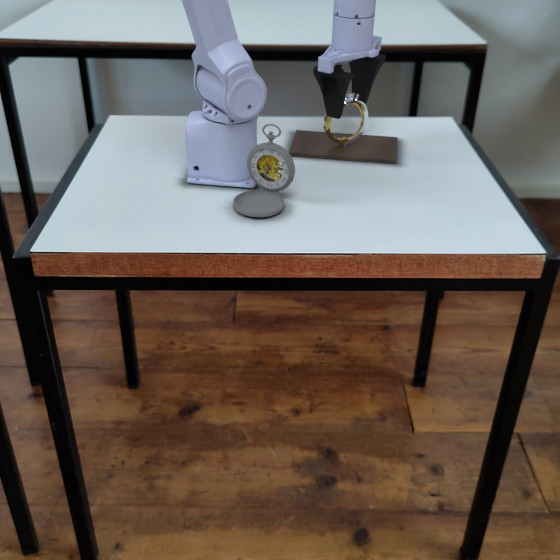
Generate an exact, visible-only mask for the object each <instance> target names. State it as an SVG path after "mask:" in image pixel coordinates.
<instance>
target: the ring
mask: <svg viewBox="0 0 560 560" xmlns="http://www.w3.org/2000/svg"><path fill="white" fill-rule="evenodd" d="M354 94H355V93H354V92H353V93H352V92H351V91H347V93H346V96H345V102H344V108H346V107H347V105H350V104H352V105H354V106H355V107H357V109H358V110H359V112H360V117H361V120H360V125H359V127H358V128H357V130H356V132H354V133H353V134H354V135H352V136H350V137H348V138H346V137H342V138H341V139H340V138H336V137H334V136H333V135H332V134H331V133H332V132H331V123H332V120H333V118H331V117H328V116H327V115H326V111H325V112H324V114H323V115H324V116H323V123H322V124H323V130H324V132H326V134H327V136H328V137H329V138H330V139H331V140H332V141H333V142H335V143H338V144H343V145H348V143H351V142H354V141H355V140H357V139H358V138H359V137H360V136H361V135H364V132H365V131H366V129H367V127H368V123H369V111H368V107H367V105H366V104H364V103H363V102H362V101H361V100H358V97H359V94H357V95H356V97H354Z"/></svg>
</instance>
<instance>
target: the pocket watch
mask: <svg viewBox="0 0 560 560" xmlns="http://www.w3.org/2000/svg"><path fill="white" fill-rule="evenodd" d="M269 126H271V127H274V128H276V129H277V130H278V133H277V134H276V135H275V134H274V132H273V131H272V130H269V132H268V133H266V132H265V131H266V130H265V129H266V127H269ZM261 132H262V133H263V135H265V137H266V139H267V140H268V142H267V141H266V142H261V143H259V144H257V146H255V147H254V148H253V149H252V150H251V151H250V153H249V155H248V158H247V169H248V172H249V175H250V177H251V178H252V180H253V181H254V182H255V183H256V186H258V187H259V188H260V189H249V190H245V191H243V192H240V193H238V194H237V195H235V196H234V198H233V200H232V205H233V208H234V209H235V210H236V212H238V213H239V214H241V215H243V216H246V217H252V218H266V217H273V216H275V215H277V214H279V213H281V212H282V211H283V210H284V208H285V205H286V201H285V198H284V197H283V196H282V195H281V194H279V192H282V191H284V190H286V189H287V188H289V186H290V185H291V184H292V183H293V182H294V178H295V175H296V165H295V161H294V159H293V156H291V155H290V154H289V150H287V149H286V148H284V146H282V145H280V144H278V143H276V142H274V140H275V139H276V138H279V137H280V136H281V135H282V130H281V128H280V127H279V126H278V125H277V124H273V123H267V124H265V125H263V126H262V128H261ZM262 167H263V168H262ZM281 172H282V173H281Z"/></svg>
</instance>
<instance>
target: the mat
mask: <svg viewBox="0 0 560 560" xmlns="http://www.w3.org/2000/svg"><path fill="white" fill-rule="evenodd" d="M331 134H332V135H333V136H334V137H336V138H340V139H341V138H342V137H346V138H348V137H350V136H352V135H354V134H355V133H346V132H345V133H343V132H331ZM288 153H289V154H290V155H291V157H297V158H298V157H300V158H311V159H312V158H314V159H325V160H341V161H353V162H364V163H365V162H366V163H379V164H393V165H397V164H398V163H397V162H398V137H397V136H385V135H370V134H362V135H361V136H360V137H359V138H358V139H357V140H355V141H354V142H351V143H348V145H343V144H338V143H335V142H333V141H332V140H331V139H330V138H329V137H328V136H327V134H326V132H325V131H318V130H317V131H315V130H301V129H296V130H295V133H294V136H293V138H292V142H291V144H290V148H289V150H288Z"/></svg>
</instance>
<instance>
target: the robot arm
mask: <svg viewBox="0 0 560 560" xmlns="http://www.w3.org/2000/svg"><path fill="white" fill-rule="evenodd" d="M181 2H182V5H183V8H184V12H185V15H186V19H187V22H188V25H189V27H190V28H189V29H190V31H191V35H192V37H193V40H194V44H195V48H194V51H193V52H192V54H191V60H192V63H193V68H194V72H193V79H192V80H193V81H192V82H193V88H194V91H195V93H196V94H197V95H198V96H199V98H201V99H202V110H192V111H190V112H189V113H188V116H187V119H186V125H185V151H186V165H187V166H186V167H187V178H186V182H187V183H189V184H195V185H196V184H198V185H210V186H222V187H235V188H246V189H254V188H255V187H256V186H257V184H256V183H255V182H254V181H253V180H252V178H251V177H250V175H249V172H248V169H247V158H248V155H249V153H250V151H251V150H252V149H253V148H254V147H255V146H257V145H258V119H259V114H260V113H261V111H262V110H263V108H264V106H265V104H266V101H267V95H268V89H267V84H266V82H265V81H264V80H263V78H262V77H261V76H260V75H259V74H258V73H257V71H256V69H255V67H254V63H253V59H252V58H251V57H250V55H249V53H248V52H247V50H246V49H245V48H244V46H243V45H242V43H241V41H240V40H239V38H238V37H239V36H238V33H237V29H236V26H235V22H234V19H233V15H232V11H231V8H230V4H229V0H181ZM376 6H377V0H333V10H332V11H333V13H332V28H331V43H330V44H329V46H328V47H327V49H326V50H325V51H324V53H323V54H321V55H319V56H318V58H317V65H314V66H313V68H312V69H313V70H312V74H313V77H314V78H315V80H316V82H317V84H318V86H319V89H320V92H321V95H322V99H323V105H324V109H325V112H326V115H327V116H328V117H331V118H332V119H335V120H340V119H341V118H342V115H343V112H344V109H345V107H344V102H345V96H346V94H347V93H348V89H349V86H350V83H351V93H353V92H354V93H355V94H354V97H356V95H357V94H359V97H358V100H361V101H362V102H363V103H364V104H365V105H366V104H367V103H368V101H369V98H370V96H371V95H370V94H371V92H372V88H373V86H374V82H375V80H376V77H377V75H378V74H379V71H380V70H381V68H382V67H383V65H384V63H385V62H386V54H383V53H380V51H381V49H382V39H383V37H382V36H378V35H374V27H375V17H376ZM346 64H348V65H349V70H350V72H348V71H344V70H345V69H344V68H343V66H344V65H346ZM262 168H263V167H262Z"/></svg>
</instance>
